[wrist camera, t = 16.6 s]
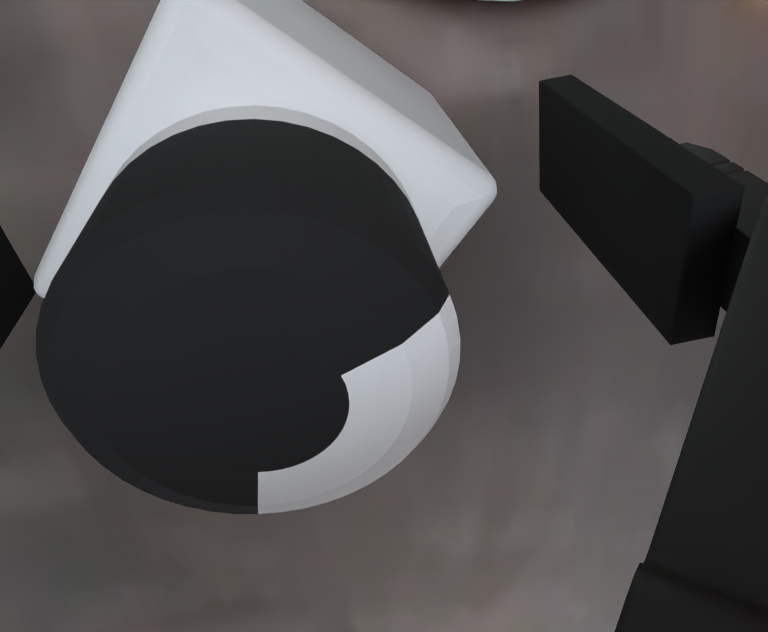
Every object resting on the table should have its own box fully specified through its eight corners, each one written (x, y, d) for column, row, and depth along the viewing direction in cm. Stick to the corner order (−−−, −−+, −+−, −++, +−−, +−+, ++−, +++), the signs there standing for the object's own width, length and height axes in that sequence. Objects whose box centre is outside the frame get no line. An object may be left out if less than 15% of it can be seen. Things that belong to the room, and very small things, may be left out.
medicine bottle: (105, 168, 18) (-103, 490, 8) (216, -64, 15) (96, 11, 5) (312, 274, 21) (337, 602, 11) (437, 96, 18) (615, 330, 8)
